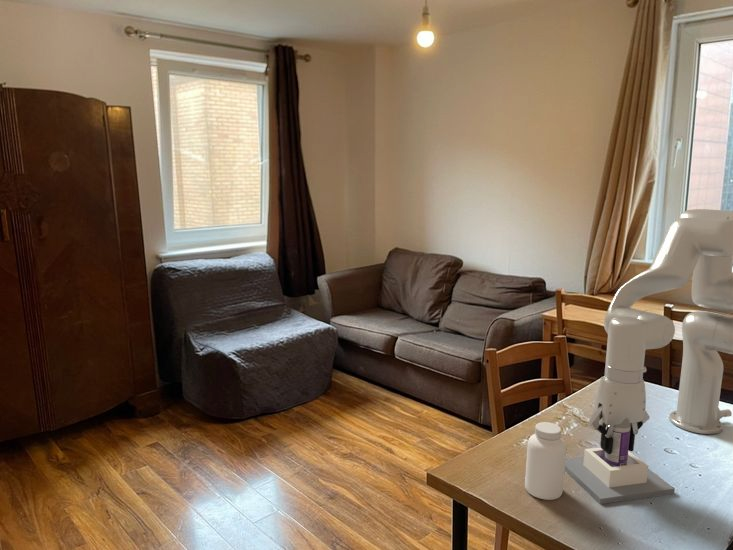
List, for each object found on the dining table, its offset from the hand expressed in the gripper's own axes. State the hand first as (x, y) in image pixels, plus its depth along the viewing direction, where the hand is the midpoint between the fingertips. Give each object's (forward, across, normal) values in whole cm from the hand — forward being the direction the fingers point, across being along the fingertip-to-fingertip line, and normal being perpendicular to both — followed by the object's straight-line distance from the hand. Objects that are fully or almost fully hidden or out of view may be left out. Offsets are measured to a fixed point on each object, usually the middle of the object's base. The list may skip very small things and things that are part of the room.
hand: (616, 448), depth 123 cm
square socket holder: (+7, 0, 0) cm, 7 cm away
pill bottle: (+7, +18, +1) cm, 20 cm away
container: (+5, 0, 0) cm, 5 cm away
